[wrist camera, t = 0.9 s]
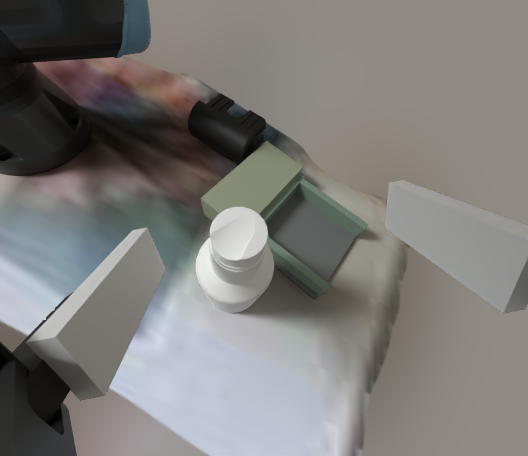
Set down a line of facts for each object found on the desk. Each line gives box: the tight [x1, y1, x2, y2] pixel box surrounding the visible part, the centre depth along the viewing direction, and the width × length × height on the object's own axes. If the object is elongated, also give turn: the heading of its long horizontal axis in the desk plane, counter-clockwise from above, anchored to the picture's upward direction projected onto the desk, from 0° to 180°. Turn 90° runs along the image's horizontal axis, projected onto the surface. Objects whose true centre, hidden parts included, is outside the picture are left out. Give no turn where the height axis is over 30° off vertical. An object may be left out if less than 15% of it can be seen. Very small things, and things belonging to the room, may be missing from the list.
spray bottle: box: [196, 207, 274, 313], centre depth 21 cm, size 7×7×18 cm
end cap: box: [188, 93, 266, 164], centre depth 36 cm, size 10×7×7 cm
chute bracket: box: [201, 141, 368, 299], centre depth 32 cm, size 20×14×4 cm
